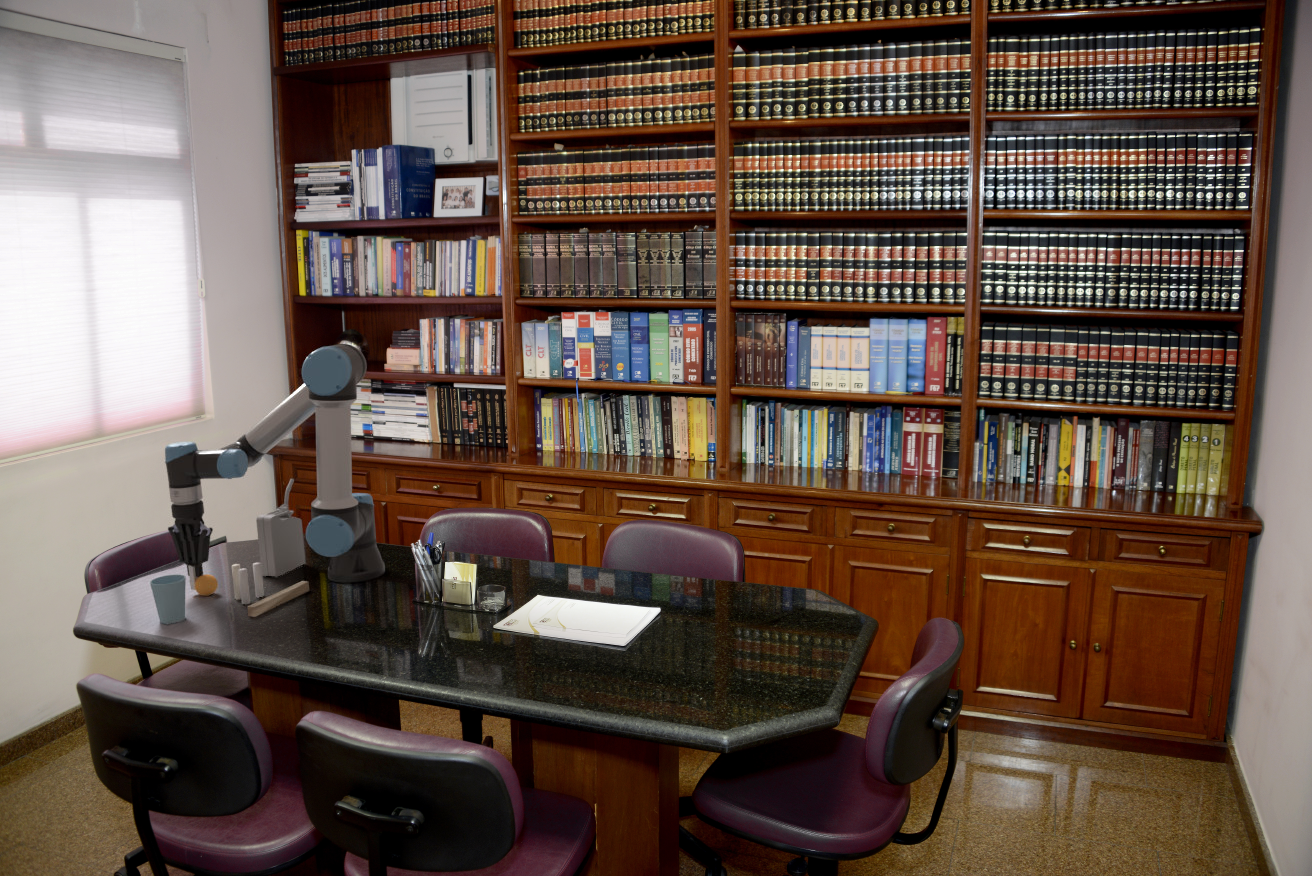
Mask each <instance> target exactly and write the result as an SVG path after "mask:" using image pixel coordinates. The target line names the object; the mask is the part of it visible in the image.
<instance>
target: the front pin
mask: <svg viewBox="0 0 1312 876" xmlns="http://www.w3.org/2000/svg"><path fill="white" fill-rule="evenodd" d="M239 569H241V564H240V563H234V564H232V565H231V573H232V574H231V575H232V582H233V593H234V600H235V599H236V600H237V601H239V600H241V591H240V581H239V571H238V570H239Z"/></svg>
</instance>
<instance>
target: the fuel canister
mask: <svg viewBox="0 0 1312 876" xmlns="http://www.w3.org/2000/svg"><path fill="white" fill-rule="evenodd" d="M294 481H295V479H294V478H290V479H289V482H288V484H287V486H286V489H285V493H284V499H283V500H284V503H283V504H280V506H278V507H277V508H275V510H273V511H270V512H267V513H263V514H259V515H258V516H257V517H256V532H257V540H258V541H257V542H258V549H259V550H258V551H259V561H260V562H259V563H261V569H262V577H266V576H275V577H274V578H277V577H276V576H279V575H281V574H283V573H285V572H287V571H290V570H292V569H294V568H296V567H298V566H300V565H303V564H305V565H306V551H305V541H304V531H303V530H304V529H303V521H302V519H301V518H300V517H299V518H298V517H295V516H292V515H293V514H294V512H295V511H294V510H290V508H289V498H290V497H289V495H290V492H291V490H292V486H293V484H294Z"/></svg>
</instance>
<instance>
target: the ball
mask: <svg viewBox="0 0 1312 876" xmlns="http://www.w3.org/2000/svg"><path fill="white" fill-rule="evenodd" d="M218 586H219V583H218V580H217V578H216V577H215V576H213V575H211V574H208V573H207V574H203V575H202V576H200V577H199V578H198V579H197V580H196V582H195V592H196V593H197V594H198V595H200V596H210V595H213V594H215V592H216V591H217V589H218Z"/></svg>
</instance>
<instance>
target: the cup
mask: <svg viewBox="0 0 1312 876" xmlns="http://www.w3.org/2000/svg"><path fill="white" fill-rule="evenodd" d="M149 584H150V588H151V591H152V595H153V598H154V603H155V607H156V611H157V616H158V619H159V623H160V624H162V623H163V624H164V625H172V624H177V623H180V622H182V621H184V620H185V619H186V584H187V583H186V576H185V575H184V574H168V575H162V576H158V577H156V578H153V579H151V580H150V582H149ZM176 622H177V623H176ZM171 623H172V624H171ZM163 624H162V625H163Z"/></svg>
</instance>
